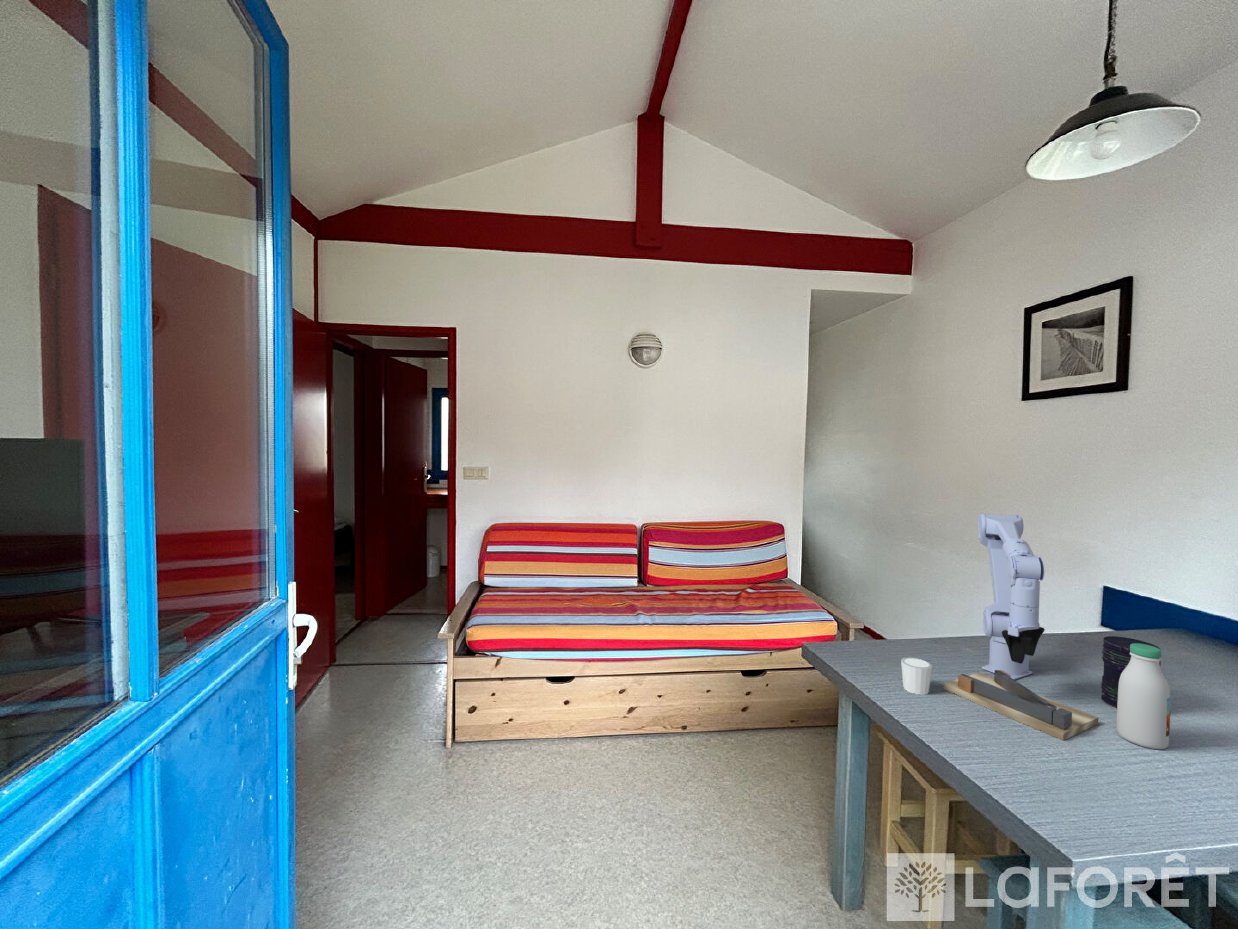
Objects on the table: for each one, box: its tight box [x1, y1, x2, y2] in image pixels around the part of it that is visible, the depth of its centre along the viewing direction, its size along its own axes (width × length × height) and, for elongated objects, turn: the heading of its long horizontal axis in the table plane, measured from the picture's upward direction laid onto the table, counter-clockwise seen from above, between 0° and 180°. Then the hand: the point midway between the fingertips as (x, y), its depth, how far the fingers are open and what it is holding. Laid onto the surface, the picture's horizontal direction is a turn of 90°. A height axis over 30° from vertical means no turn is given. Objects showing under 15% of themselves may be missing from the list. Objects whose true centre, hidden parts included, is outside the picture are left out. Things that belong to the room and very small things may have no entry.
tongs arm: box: [993, 670, 1057, 710], centre depth 121 cm, size 2×19×3 cm, turn 176°
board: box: [943, 671, 1099, 741], centre depth 121 cm, size 15×25×2 cm, turn 25°
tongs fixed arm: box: [957, 673, 1072, 729], centre depth 118 cm, size 4×21×3 cm, turn 25°
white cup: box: [900, 657, 933, 696], centre depth 129 cm, size 7×7×7 cm
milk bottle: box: [1116, 643, 1171, 750], centre depth 107 cm, size 8×8×20 cm
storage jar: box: [1100, 635, 1162, 709], centre depth 121 cm, size 10×10×15 cm
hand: (1022, 658), depth 126 cm, fingers open, 7 cm apart
